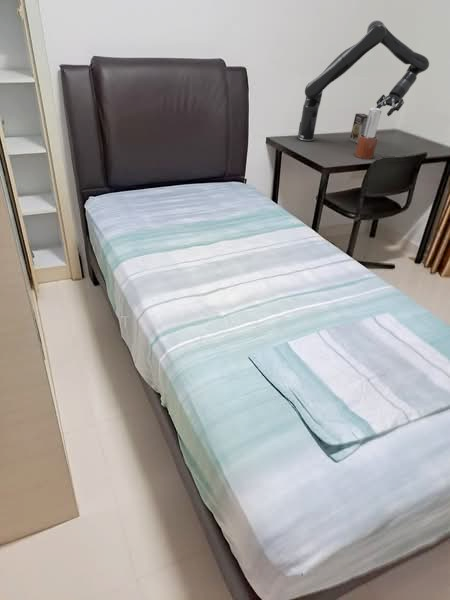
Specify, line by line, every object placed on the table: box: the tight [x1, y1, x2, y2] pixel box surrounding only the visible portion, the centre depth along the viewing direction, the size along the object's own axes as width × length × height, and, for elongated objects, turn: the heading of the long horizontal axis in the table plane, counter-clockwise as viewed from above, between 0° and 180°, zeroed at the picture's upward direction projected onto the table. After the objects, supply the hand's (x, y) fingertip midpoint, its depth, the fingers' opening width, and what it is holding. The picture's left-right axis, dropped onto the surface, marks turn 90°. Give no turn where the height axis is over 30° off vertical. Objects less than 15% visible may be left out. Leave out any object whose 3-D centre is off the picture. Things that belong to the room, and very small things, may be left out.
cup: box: [354, 134, 378, 160], centre depth 247 cm, size 10×10×11 cm
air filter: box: [363, 107, 382, 139], centre depth 243 cm, size 6×6×25 cm
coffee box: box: [349, 113, 368, 145], centre depth 271 cm, size 9×6×16 cm
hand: (381, 113), depth 240 cm, fingers open, 8 cm apart
